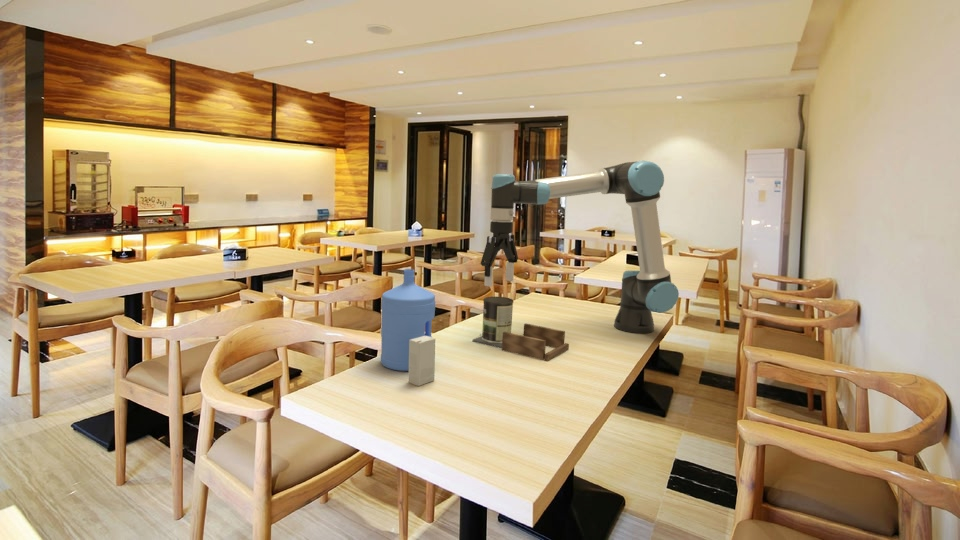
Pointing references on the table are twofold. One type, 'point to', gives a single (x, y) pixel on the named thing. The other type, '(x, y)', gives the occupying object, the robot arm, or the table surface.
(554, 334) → the holder
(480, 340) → the mat
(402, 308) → the water jug
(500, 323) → the coffee can
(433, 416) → the table surface
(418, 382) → the skincare box
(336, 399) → the table surface
